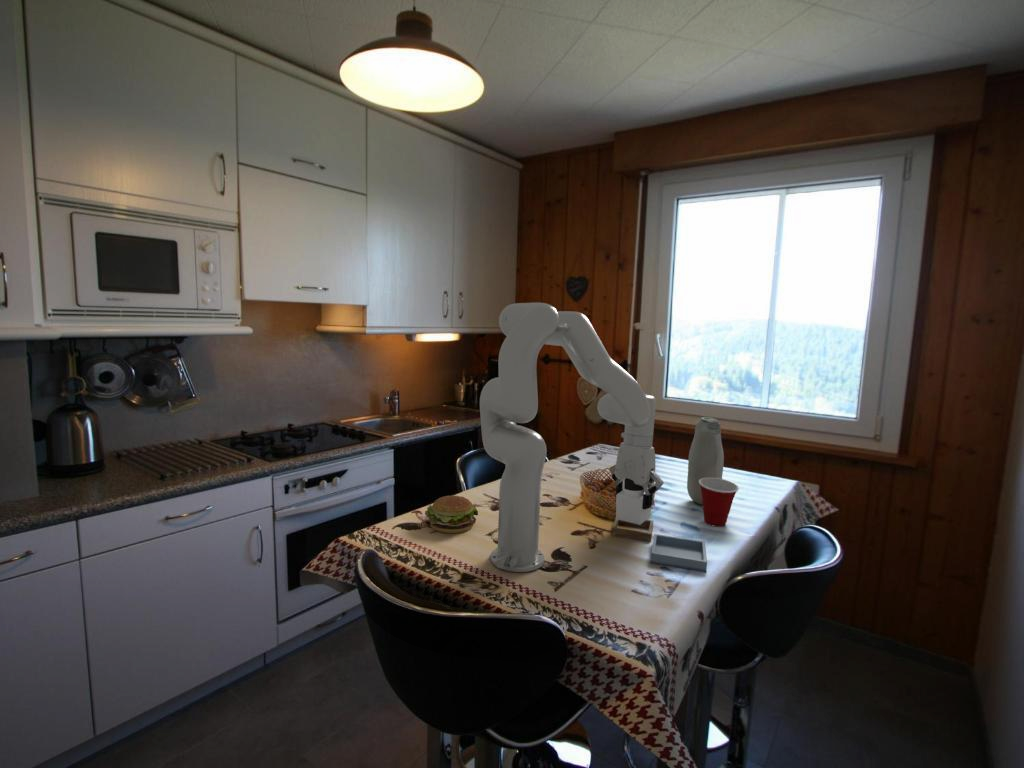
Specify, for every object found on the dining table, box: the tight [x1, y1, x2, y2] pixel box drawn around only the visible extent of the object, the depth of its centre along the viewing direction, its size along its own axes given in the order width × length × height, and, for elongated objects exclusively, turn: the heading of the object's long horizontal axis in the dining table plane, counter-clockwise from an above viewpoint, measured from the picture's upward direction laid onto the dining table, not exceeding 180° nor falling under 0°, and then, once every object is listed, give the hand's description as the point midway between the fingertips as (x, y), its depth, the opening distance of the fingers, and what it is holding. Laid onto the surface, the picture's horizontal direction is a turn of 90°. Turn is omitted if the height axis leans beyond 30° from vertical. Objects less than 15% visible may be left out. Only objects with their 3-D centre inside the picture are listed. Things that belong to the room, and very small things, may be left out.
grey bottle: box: [686, 416, 725, 506], centre depth 168 cm, size 10×10×28 cm
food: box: [424, 494, 479, 534], centre depth 142 cm, size 14×14×8 cm
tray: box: [650, 533, 708, 573], centre depth 128 cm, size 12×12×2 cm
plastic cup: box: [699, 478, 740, 527], centre depth 151 cm, size 11×11×12 cm
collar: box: [611, 518, 654, 542], centre depth 144 cm, size 10×10×2 cm
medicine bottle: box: [615, 478, 652, 525], centre depth 142 cm, size 7×7×12 cm
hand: (633, 503), depth 142 cm, fingers closed on medicine bottle, 8 cm apart
